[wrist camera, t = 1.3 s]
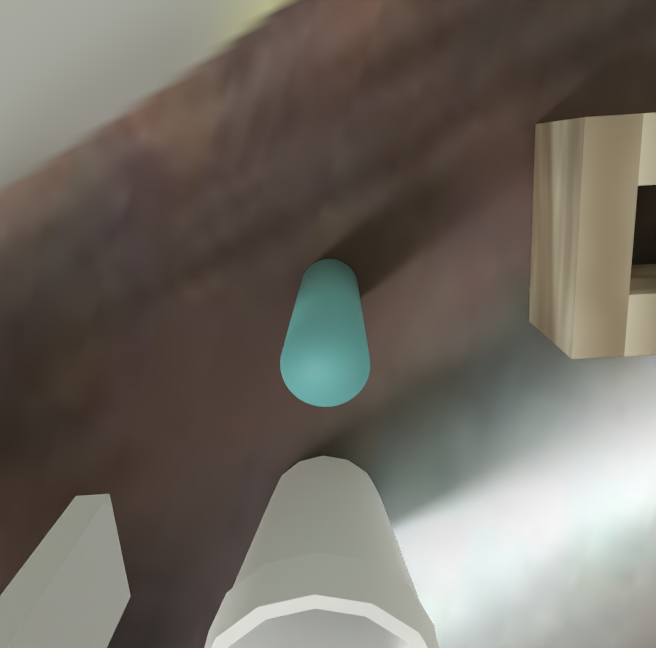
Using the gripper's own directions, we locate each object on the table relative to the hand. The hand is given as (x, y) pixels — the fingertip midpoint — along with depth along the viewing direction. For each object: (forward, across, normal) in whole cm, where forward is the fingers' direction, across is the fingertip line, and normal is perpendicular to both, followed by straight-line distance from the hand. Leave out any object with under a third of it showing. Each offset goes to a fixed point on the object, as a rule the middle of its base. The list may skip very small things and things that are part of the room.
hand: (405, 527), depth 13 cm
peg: (+19, -2, +1) cm, 19 cm away
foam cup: (+19, -3, -12) cm, 23 cm away
